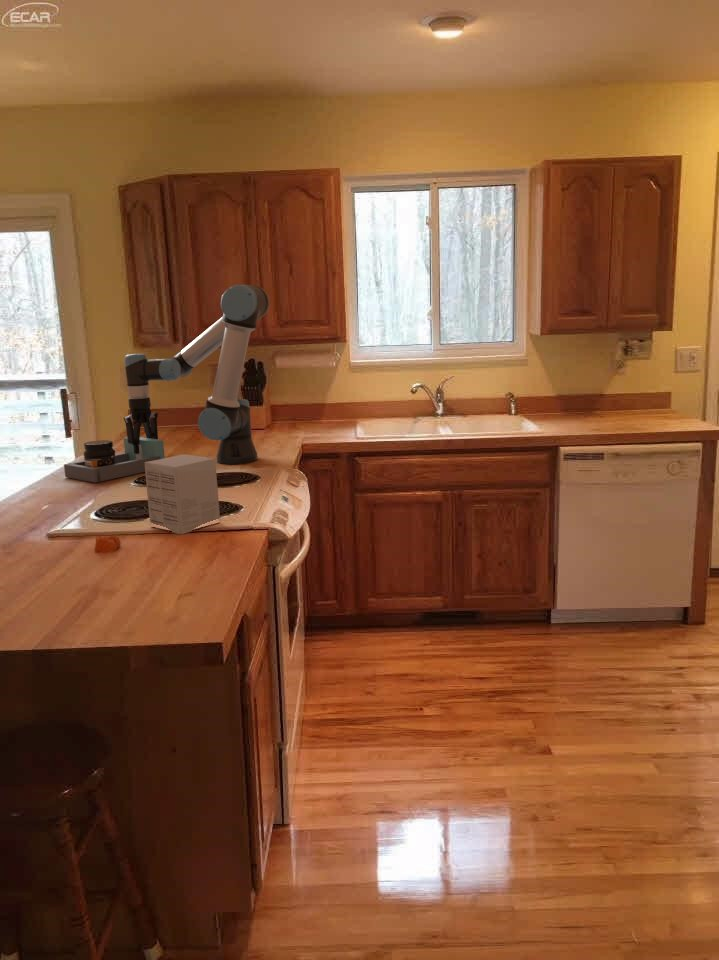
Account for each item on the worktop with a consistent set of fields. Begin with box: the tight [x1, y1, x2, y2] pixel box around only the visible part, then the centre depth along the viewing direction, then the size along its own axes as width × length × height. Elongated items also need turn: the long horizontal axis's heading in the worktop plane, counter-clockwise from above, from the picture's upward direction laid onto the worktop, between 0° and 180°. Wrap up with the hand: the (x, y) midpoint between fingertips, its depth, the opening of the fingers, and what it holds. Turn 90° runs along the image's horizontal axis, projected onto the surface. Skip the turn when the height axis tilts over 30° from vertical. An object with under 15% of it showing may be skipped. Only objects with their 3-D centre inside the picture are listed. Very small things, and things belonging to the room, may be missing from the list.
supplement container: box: [82, 439, 116, 468], centre depth 271 cm, size 10×10×12 cm
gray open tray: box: [63, 436, 166, 484], centre depth 276 cm, size 18×29×10 cm, turn 142°
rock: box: [94, 535, 121, 554], centre depth 186 cm, size 12×12×4 cm
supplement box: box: [144, 453, 221, 535], centre depth 203 cm, size 13×13×18 cm
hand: (145, 460), depth 286 cm, fingers closed on gray open tray, 4 cm apart
